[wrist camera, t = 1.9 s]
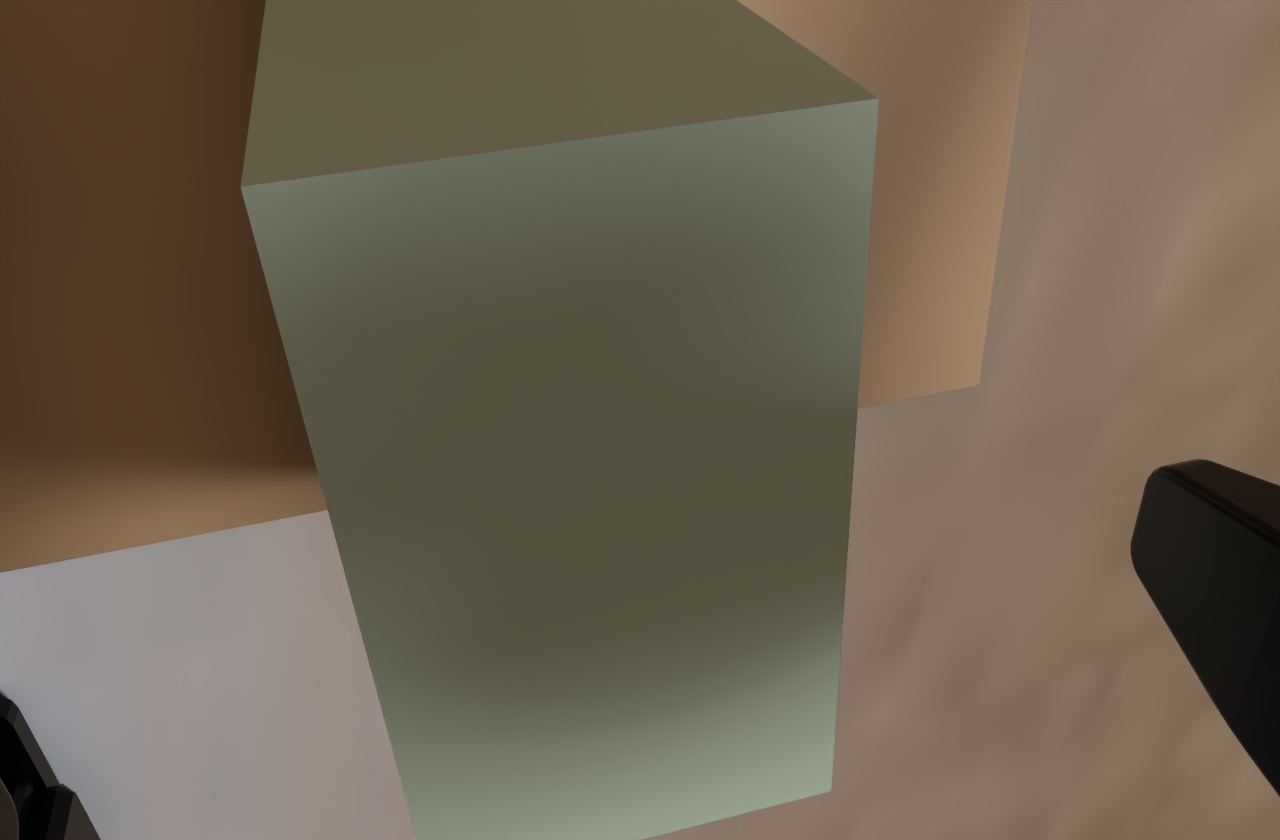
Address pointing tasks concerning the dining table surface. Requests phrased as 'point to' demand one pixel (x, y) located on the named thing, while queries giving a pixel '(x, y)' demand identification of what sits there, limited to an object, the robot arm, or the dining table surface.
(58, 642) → the dining table surface
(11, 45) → the wooden tray
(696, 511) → the tea box
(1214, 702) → the robot arm
